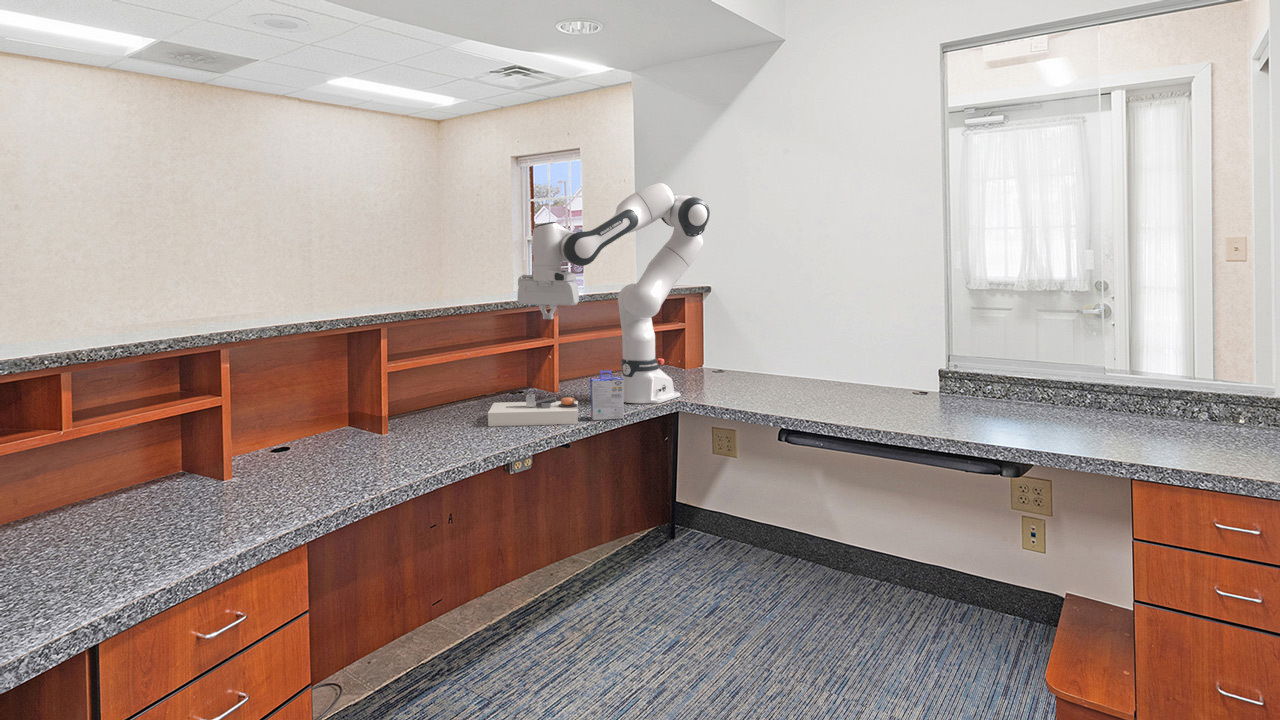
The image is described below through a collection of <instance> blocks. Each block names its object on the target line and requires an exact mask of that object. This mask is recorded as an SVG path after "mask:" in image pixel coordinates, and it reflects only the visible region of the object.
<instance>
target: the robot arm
mask: <svg viewBox="0 0 1280 720" xmlns="http://www.w3.org/2000/svg"><path fill="white" fill-rule="evenodd" d="M710 213H711V211H710V208H709V206H708V204H707V203H706V202H705V201H704V200H703V199H701V198H699V197H694V196H691V195H685V194H681V195H679V194H674V193H673V191H672V190H671V188H670V187H669V186H668V185H667V184H665V183H663V182H657V183H654V184H651V185H649V186H648V185H647V186H645V187H643V188H642V189H640V190H637V191H635V192H633V193H632V194H630V195H629V196H627V197H626V198H625V199H623V200H622V201H621V202H620V203H618V205H617V206H616V209H615V214H614V215H613V216H612V217H611V218H609V219H608V220H607V221H605V222H603V223H602V224H600V225H598V226H596V227H595V228H593V229H591V230H587V231H577V232H575V231H571V230H569V229H567V228H565V227H563V226H562V225H560V224H559V223H558V222H557V221H551V222H544V223H543V222H542V223H539V224H537V225H536V226H535V227H534V228H533V230H532V239H531V253H532V256H533V261H532V274H522V275H521V276H520V277H519V276H518V277H519V278H518V279H517V287H518V288H517V299H516V301H517V302H518V303H519V305H538V308H539V310H540V312H541V314H542V319H543V320H554V314H555V312H556V310H557V308H558V306H577V304H578V303H579V300H580V295H579V293H580V292H579V287H578V286H579V285H578V284H577V283H576V282H575V281H576V279H577V274H576V273H573V272H571V271H568V270H565V269H563V268H562V262H565V263H568V264H571V265H575V266H580V267H584V266H587V265H590V264H592V263H593V262H594V261H595V259H596V258H597V257H598V255H599V254H600V252H601V251H602V250H603V249H604V248H606V247H607V246H608V245H610V244H612V243H614V241H617V240H619V238H621V237H622V236H625V235H627V234H630V233H633V232H637V231H640V230H641V229H644V228H646V227H648V226H649V225H651V224H653V223H655V222H656V221H658V220H659V219H661V221H662V222H663V223H664V224H665V225H667V226H669V227H672V228H673V231H672V233H671V236H670V238H669V239H668V241H667V242H666V243H665V244H664V245H663V246H662V247H661V248H660V250H659V251H658V252H657V253H656V254H655V256H653V258H652V259H651V261H649V263H647V267H646V269H645V270H644V272H643V274H642V275H641V277H640V278H639V280H637V282H636V283H630V284H627V285H625V286H623V288H622V289H621V290H620V291H619V293H618V295H617V304H618V310H619V321H620V327H621V336H622V338H621V339H622V340H621V341H622V358H620V359H621V362H620V364H621V365H620V368H621V372H622V373H621V378H622V379H623V398H624V403H628V404H629V403H630V404H661V403H663V402H664V403H665V402H667V401H670V400H673V399H676V398H679V397H681V393H680V392H678V391H676V390H675V387H674V381H673V379H672V378H671V377H670V376H669V375H668V374H667V373H665V372H664V371H663V370H662V369H660V366H659V365H662V366H663V365H664V364H665V359H664V358H656V333H655V331H654V325H653V324H654V323H653V319H652V318H653V317H654V316H656V315H657V314H658V313H659V311H660V309H661V307H662V305H663V303H664V302H665V300H666V299H667V298H668V295H669V294H670V292H671V290H672V288H673V287H674V286H675V284H676V283H677V282H678V281H679V280H680V279H681V277H682V276H683V275H684V274H685V273H686V271H688V269H689V268H690V266H691V265H692V264H693V263H694V261H695V260H696V258H697V257H698V255H699V254H700V252H701V250H702V249H703V247H704V239H703V236H702V234H703V233H704V232H705V229H706V226H707V225H708V223H709V220H710ZM547 306H549V309H550V310H549V312H547V310H546V308H547Z"/></svg>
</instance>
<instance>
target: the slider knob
mask: <svg viewBox="0 0 1280 720" xmlns="http://www.w3.org/2000/svg"><path fill="white" fill-rule="evenodd" d="M525 402H526V407H535V402H536V394H535V393H532V392H529V394H526V396H525Z"/></svg>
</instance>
